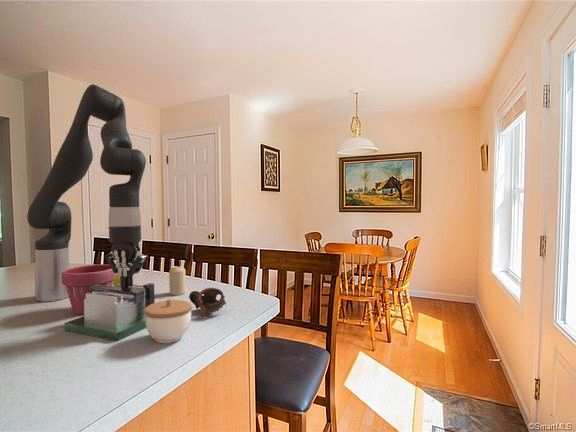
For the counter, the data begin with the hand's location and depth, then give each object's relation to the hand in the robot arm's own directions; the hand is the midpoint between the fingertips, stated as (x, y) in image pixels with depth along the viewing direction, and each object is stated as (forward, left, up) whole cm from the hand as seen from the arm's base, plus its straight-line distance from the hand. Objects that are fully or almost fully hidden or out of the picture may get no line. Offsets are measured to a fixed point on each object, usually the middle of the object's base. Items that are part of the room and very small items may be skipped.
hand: (126, 289), depth 84 cm
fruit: (-30, +26, -10) cm, 41 cm away
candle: (-8, +30, -10) cm, 33 cm away
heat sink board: (-3, 0, -10) cm, 10 cm away
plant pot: (-21, +6, -10) cm, 24 cm away
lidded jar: (+16, -2, -10) cm, 19 cm away
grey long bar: (-4, 0, -3) cm, 5 cm away
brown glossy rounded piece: (+13, +17, -10) cm, 24 cm away
